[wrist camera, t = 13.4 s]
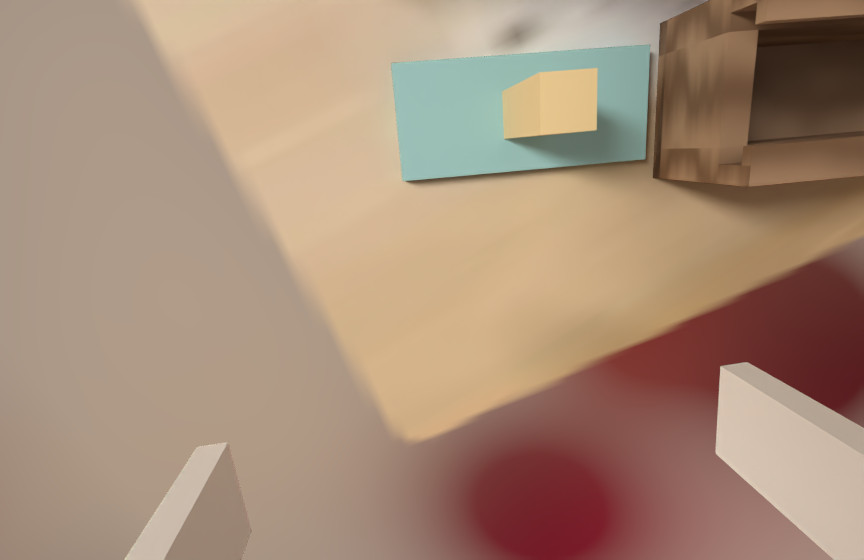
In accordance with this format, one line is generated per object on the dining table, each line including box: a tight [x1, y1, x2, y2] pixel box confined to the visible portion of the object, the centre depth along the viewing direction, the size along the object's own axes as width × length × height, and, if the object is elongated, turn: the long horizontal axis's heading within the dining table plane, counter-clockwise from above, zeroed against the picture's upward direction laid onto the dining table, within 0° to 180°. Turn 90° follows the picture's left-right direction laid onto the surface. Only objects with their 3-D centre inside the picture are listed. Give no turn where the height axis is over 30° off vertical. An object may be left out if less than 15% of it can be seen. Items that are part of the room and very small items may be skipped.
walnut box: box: [653, 0, 864, 187], centre depth 34 cm, size 12×23×11 cm, turn 95°
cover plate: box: [391, 45, 650, 181], centre depth 33 cm, size 9×20×11 cm, turn 95°
